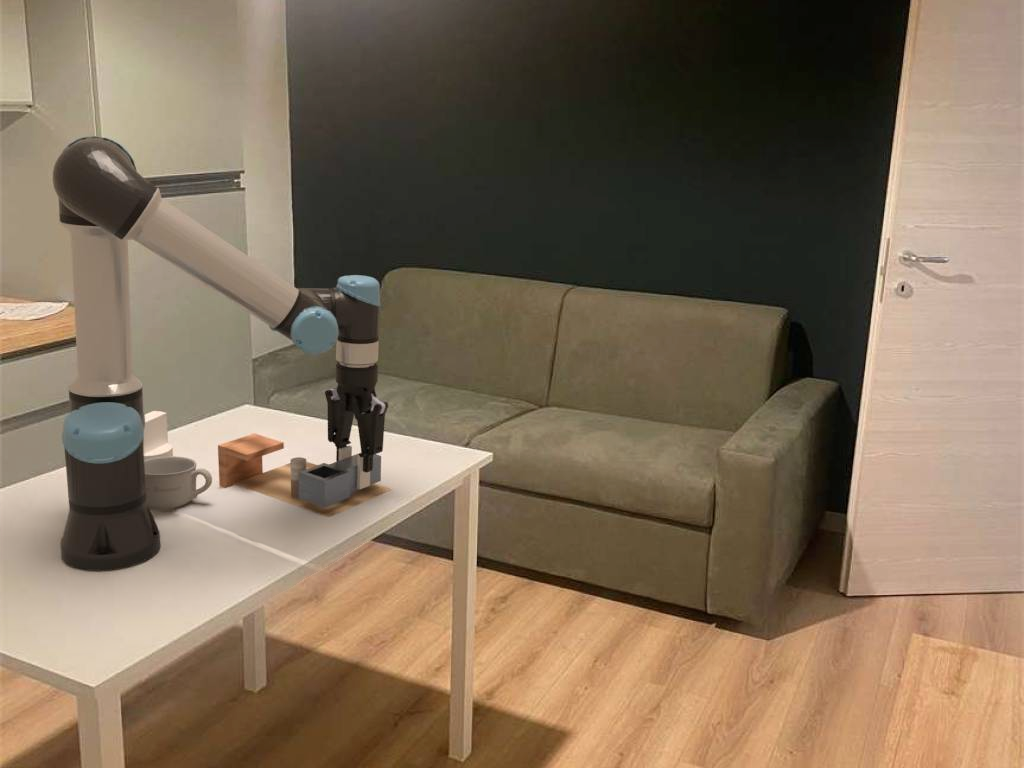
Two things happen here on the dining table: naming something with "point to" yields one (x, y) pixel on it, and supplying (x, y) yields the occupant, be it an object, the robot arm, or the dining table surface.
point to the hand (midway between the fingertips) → (353, 483)
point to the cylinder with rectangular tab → (156, 436)
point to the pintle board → (277, 474)
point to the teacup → (172, 482)
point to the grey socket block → (334, 480)
